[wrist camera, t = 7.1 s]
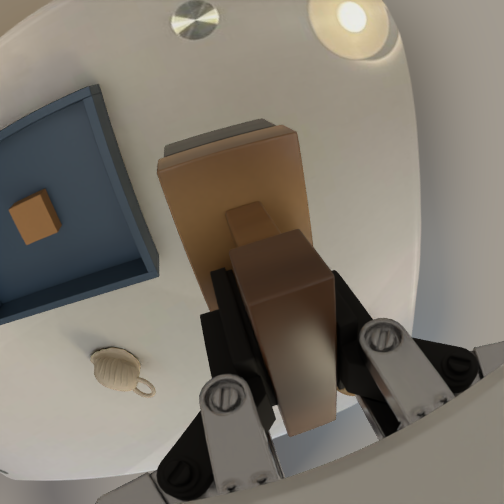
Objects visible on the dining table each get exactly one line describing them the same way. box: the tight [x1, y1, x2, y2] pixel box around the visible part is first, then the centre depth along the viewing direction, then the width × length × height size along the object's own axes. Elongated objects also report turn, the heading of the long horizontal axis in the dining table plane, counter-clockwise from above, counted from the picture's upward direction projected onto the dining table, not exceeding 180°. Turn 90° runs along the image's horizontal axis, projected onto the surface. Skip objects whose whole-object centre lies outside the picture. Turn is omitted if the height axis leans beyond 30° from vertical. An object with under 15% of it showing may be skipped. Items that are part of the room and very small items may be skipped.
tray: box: [0, 84, 159, 325], centre depth 24 cm, size 18×22×4 cm
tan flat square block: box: [9, 189, 62, 245], centre depth 24 cm, size 4×4×2 cm
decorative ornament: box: [91, 347, 156, 398], centre depth 35 cm, size 4×8×5 cm, turn 59°
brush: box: [157, 118, 337, 437], centre depth 11 cm, size 10×4×8 cm, turn 12°
